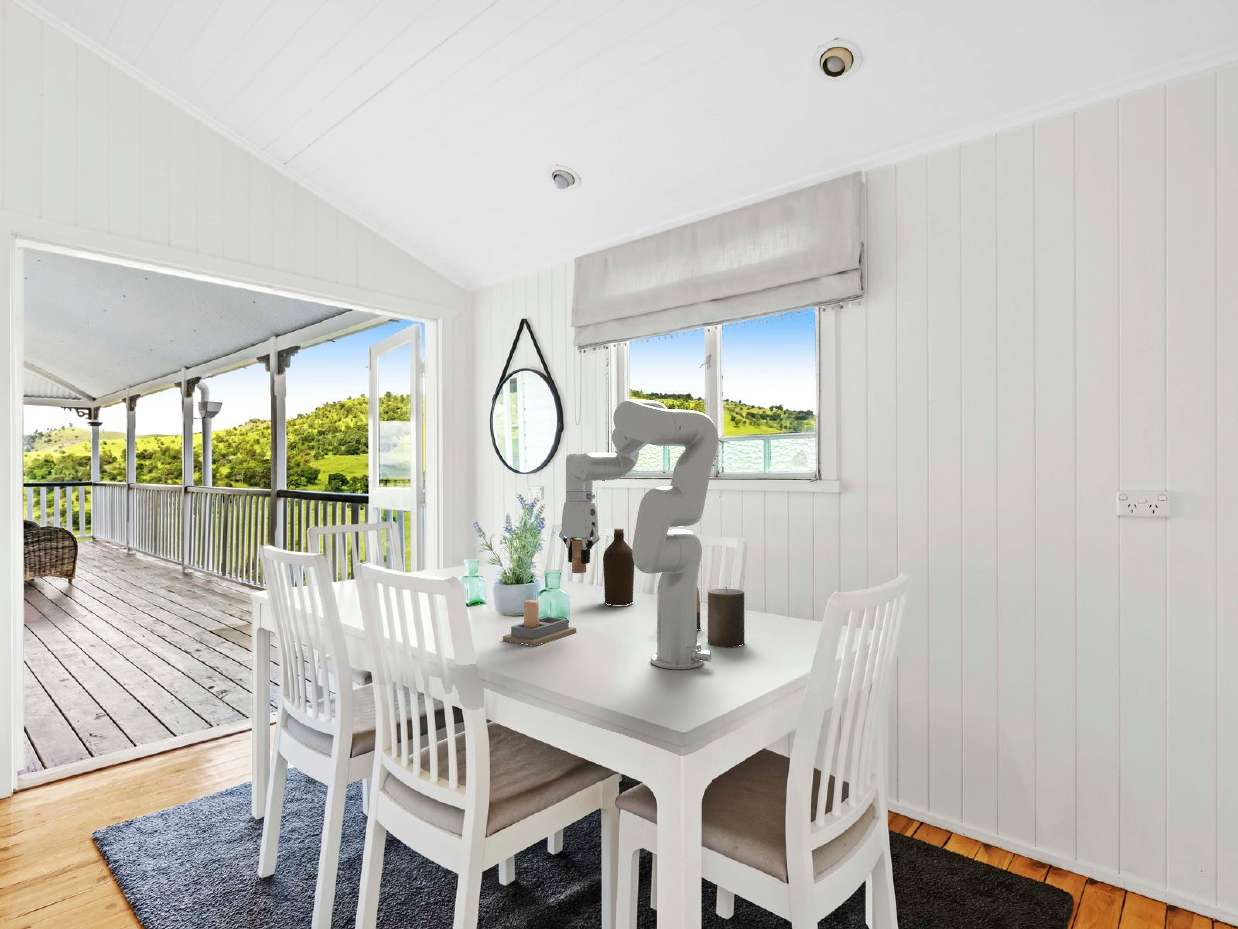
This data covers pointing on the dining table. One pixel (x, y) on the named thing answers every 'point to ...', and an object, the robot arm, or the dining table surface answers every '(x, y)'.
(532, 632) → the housing
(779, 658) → the dining table surface
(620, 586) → the olive oil
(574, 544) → the switch lever
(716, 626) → the pillar candle
